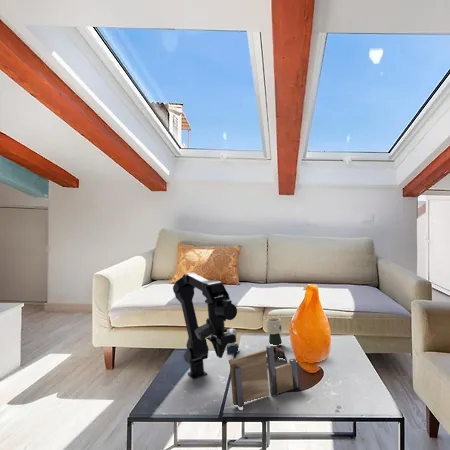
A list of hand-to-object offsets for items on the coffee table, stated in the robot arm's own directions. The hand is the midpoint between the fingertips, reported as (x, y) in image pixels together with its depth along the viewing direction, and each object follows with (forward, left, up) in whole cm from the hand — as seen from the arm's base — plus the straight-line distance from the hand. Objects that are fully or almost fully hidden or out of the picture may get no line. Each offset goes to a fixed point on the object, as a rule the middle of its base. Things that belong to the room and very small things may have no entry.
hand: (219, 357), depth 143 cm
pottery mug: (-9, +31, -12) cm, 34 cm away
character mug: (-27, +43, -12) cm, 52 cm away
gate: (+16, +3, -11) cm, 20 cm away
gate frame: (+17, +10, -12) cm, 23 cm away
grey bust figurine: (-34, +23, -12) cm, 43 cm away
